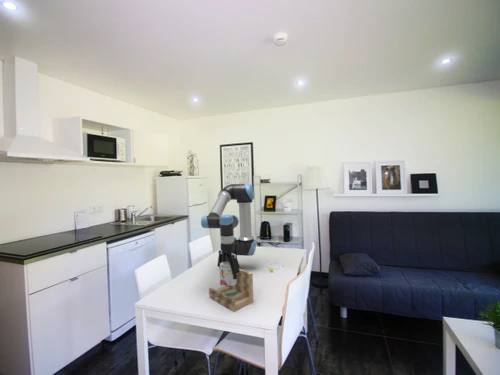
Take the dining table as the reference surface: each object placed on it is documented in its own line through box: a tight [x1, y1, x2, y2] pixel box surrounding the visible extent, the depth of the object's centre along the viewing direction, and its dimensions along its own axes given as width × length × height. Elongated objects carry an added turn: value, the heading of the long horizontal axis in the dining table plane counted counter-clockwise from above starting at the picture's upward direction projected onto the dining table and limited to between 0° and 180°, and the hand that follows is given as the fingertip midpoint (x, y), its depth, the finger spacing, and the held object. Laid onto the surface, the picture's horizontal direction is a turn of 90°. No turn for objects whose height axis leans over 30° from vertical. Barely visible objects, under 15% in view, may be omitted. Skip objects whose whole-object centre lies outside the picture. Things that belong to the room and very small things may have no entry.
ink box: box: [219, 262, 235, 286], centre depth 139 cm, size 9×5×12 cm, turn 79°
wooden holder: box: [208, 268, 254, 312], centre depth 141 cm, size 22×14×16 cm, turn 43°
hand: (228, 281), depth 140 cm, fingers closed on ink box, 9 cm apart
